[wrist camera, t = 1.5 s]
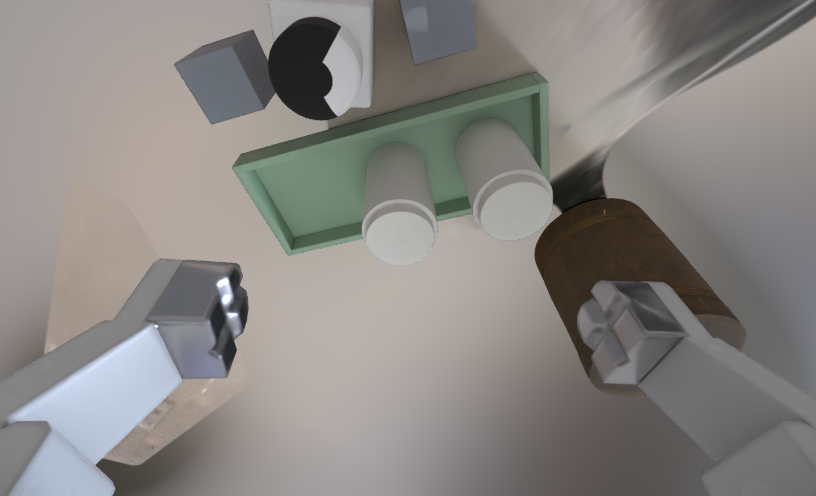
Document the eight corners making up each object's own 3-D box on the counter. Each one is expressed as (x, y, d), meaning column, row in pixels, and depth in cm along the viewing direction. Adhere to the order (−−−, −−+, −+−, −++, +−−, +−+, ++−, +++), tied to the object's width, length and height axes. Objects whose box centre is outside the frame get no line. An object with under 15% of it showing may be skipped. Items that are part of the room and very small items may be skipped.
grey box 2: (455, -37, 30) (467, -31, 26) (464, 31, 33) (477, 47, 29) (396, -18, 31) (397, -8, 26) (410, 47, 34) (414, 65, 30)
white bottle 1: (420, 134, 39) (430, 199, 30) (433, 188, 43) (446, 259, 34) (358, 151, 40) (349, 218, 31) (377, 202, 44) (375, 274, 35)
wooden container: (579, 294, 57) (659, 444, 41) (511, 255, 51) (571, 412, 35) (669, 230, 50) (812, 382, 33) (601, 176, 44) (733, 328, 27)
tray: (537, 71, 36) (548, 81, 34) (540, 181, 44) (549, 195, 42) (240, 153, 40) (231, 167, 38) (292, 240, 48) (288, 256, 46)
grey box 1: (253, 29, 33) (231, 45, 28) (280, 86, 36) (264, 109, 31) (202, 45, 33) (173, 64, 29) (233, 100, 36) (211, 125, 32)
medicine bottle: (297, 78, 35) (266, 129, 26) (287, -14, 31) (245, 10, 22) (373, 82, 36) (368, 134, 27) (374, -6, 31) (368, 19, 22)
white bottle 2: (516, 109, 38) (558, 168, 28) (520, 167, 42) (557, 235, 33) (450, 126, 38) (469, 189, 29) (460, 182, 43) (480, 251, 34)
